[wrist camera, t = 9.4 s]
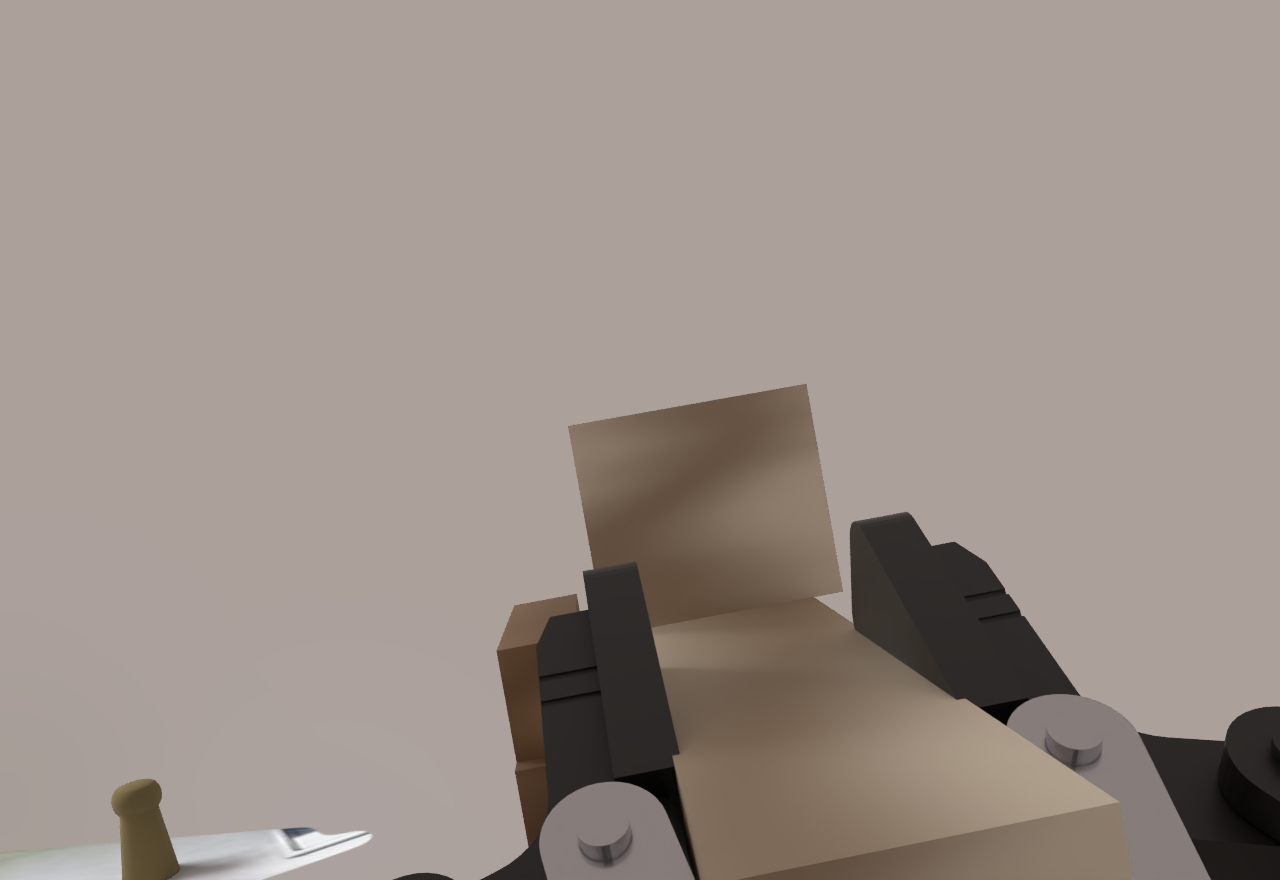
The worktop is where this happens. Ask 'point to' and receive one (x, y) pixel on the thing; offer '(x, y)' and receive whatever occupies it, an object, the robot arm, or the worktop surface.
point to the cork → (143, 832)
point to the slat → (809, 675)
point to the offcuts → (528, 701)
